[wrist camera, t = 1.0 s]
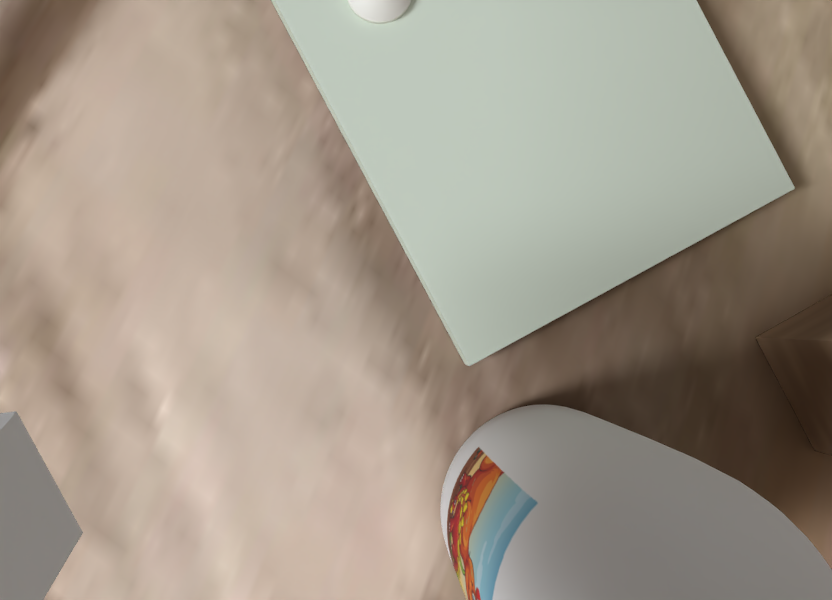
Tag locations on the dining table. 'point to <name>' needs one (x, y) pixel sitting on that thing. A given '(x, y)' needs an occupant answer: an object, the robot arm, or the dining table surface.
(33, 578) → the robot arm
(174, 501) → the dining table surface
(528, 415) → the milk bottle
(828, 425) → the walnut tube
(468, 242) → the card
